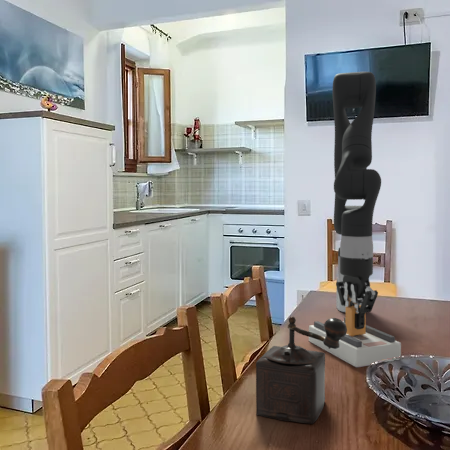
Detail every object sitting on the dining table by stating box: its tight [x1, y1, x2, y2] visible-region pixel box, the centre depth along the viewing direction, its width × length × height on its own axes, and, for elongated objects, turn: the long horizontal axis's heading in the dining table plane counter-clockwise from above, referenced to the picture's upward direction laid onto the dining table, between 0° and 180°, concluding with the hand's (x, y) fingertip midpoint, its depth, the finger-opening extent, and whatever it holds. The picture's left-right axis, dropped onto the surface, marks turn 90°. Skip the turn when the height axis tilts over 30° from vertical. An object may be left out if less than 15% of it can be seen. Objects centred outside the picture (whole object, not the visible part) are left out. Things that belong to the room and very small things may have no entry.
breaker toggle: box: [344, 305, 367, 336], centre depth 117 cm, size 2×4×6 cm, turn 111°
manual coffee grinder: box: [255, 315, 347, 425], centre depth 86 cm, size 16×11×18 cm
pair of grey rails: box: [313, 317, 396, 348], centre depth 118 cm, size 18×10×1 cm, turn 21°
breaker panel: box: [308, 320, 402, 368], centre depth 119 cm, size 20×12×4 cm, turn 21°
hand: (355, 326), depth 117 cm, fingers closed on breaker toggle, 2 cm apart
